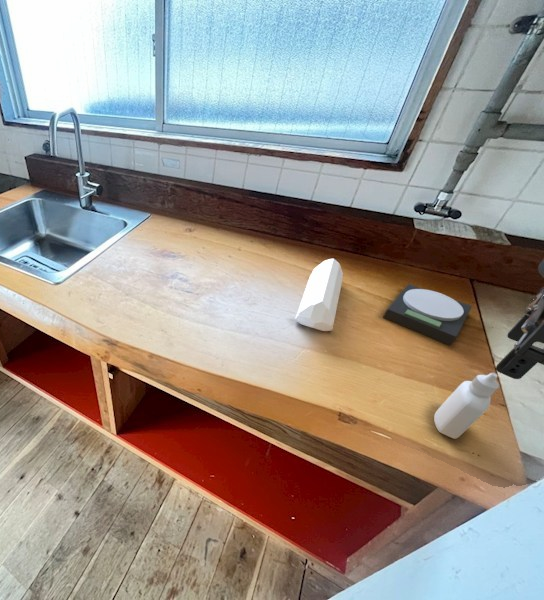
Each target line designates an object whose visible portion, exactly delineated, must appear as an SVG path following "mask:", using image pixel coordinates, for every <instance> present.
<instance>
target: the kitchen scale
mask: <svg viewBox="0 0 544 600" xmlns="http://www.w3.org/2000/svg"><path fill="white" fill-rule="evenodd" d="M472 308H473V305H471V304H467V303H465V302H462V301H459V300H456V299H453V298H452V297H450V296H448V295H446V294H443V293H440V292H438V291H435V290H430V289H425V288H423V287H419V286H416V285H413V284H410V283H407V285H406V286H405V287H404V288H403V289H402V291H401V292H400V293H399V294H398V295H397V296H396V298H395V299H394V300H393V302H392V303H391V304H390V305H389V307H388V308H387V309H386V311H385V313H384V314H383V316H382V318H383V319H386V320H388V321H391V322H394V323H396V324H398V325H400V326H402V327H405V328H408V329H410V330H412V331H414V332H417V333H420V334H422V335H424V336H427V337H429V338H432V339H434V340H436V341H438V342H441V343H443V344H446V345H448V346H451V345H452V343H453V342H454V341H455V340H456V338H457V337H458V335H459V332H460V331H461V330H462V328H463V325H464V323H465V322H466V319H467V317H468V315H469V313H470V312H471V310H472Z"/></svg>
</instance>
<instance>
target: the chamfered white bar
mask: <svg viewBox="0 0 544 600" xmlns="http://www.w3.org/2000/svg"><path fill="white" fill-rule="evenodd" d="M343 273H344V272H343V269H342V267H341V263H339V262H338V261H337V260H336V259H335V258H334V257H333V258H329V259H325V260H323V261H322V262H321V263H319V264H318V265H317V266H315V267H314V268H313V270H312V272H311V273H310V275H309V278H308V280H307V283H306V286H305V289H304V292H303V295H302V298H301V301H300V303H299V307H298V308H297V309H298V310H297V312H296V316H295V318H294V320H295V321H296V322H298V324H299V325H302V326H304V327H307V328H311V329H314V330H318V331H322V332H329V331H333V329H334V323H335V319H336V314H337V309H338V305H339V299H340V294H341V289H342V286H343V285H342V284H343V279H344V278H343V277H344V274H343Z"/></svg>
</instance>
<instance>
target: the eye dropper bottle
mask: <svg viewBox="0 0 544 600" xmlns="http://www.w3.org/2000/svg"><path fill="white" fill-rule="evenodd" d="M498 376H499V375H498V374H497V373H495V372H490V373H489V374H477V375H476V376H475V377H474V378H473V379H472V380H464V381H463V382H461V383H460V384H459V385H458V386H457V387H456V388H455V389H454V391H453V392H451V394H450V395H449V396H448V397H447V398H446V399H445V400H444V401H443V403H442V404H441V405H440V406H439V407H438V409H437V410H436V411H435V413H434V415H433V423H434V425H435V428H436V430H437V431H438V432H439V433H440V434H442V435H444V436H446V437H449V438H451V439H455V440H456V439H458V438H459V437H461V436H462V435H463V434H464V433H465V432H466V431H467V430H468V429H469V428H470V427H471V426H472V425H473V424H474V423H475V422H476V421H477V420H479V418H481V417H482V416H483V414H485V412H486V411H487V410H488V409H489V407H490V405H491V400H492V399H491V396H492V395H493V394H494V393H495V392H496V391H497V390H498V389H499V388H500V383H499V382H498V380H497V378H498Z"/></svg>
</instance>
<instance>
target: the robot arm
mask: <svg viewBox="0 0 544 600" xmlns="http://www.w3.org/2000/svg"><path fill="white" fill-rule="evenodd" d="M537 271H538V273H539V274H540V276H542V278H544V258H543V259H542V260H541V261H540V263H539V264H538V266H537ZM506 336H507V338H508V339H509V340H511V341H514V342H515V343H514V344H513V348H512V349H511V350H510V351H509V352H508V353H507V354H506V355H505V356H504V357H503V358H502V359H501V360H500V361H499V362H498V363H497V365H496V367H495V370H496V372H498V373H500V374H502V375H504V376H506V377H509V378H511V379H513V380H520V379H523V377H524V376H525V375H526V374H527V373H528V372H530V370H531V369H533V367H536V365H537V364H539V365H543V366H544V347H543V348H541V347H538V346H536V345H534V344H535V343H540V344H544V286H542V287H541V289H540V290H539V291H538V292H537V293H536V295H535V296H533V297H532V298H531V299H530V302H529V303H528V305H527V306H526V308H525V310H524V315H523V316H522V317H521V318H520V319H518V322H516V323H515V324H514V326H513V327H512V328H511V329H510V330H509V331H508V333H507V335H506Z"/></svg>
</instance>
